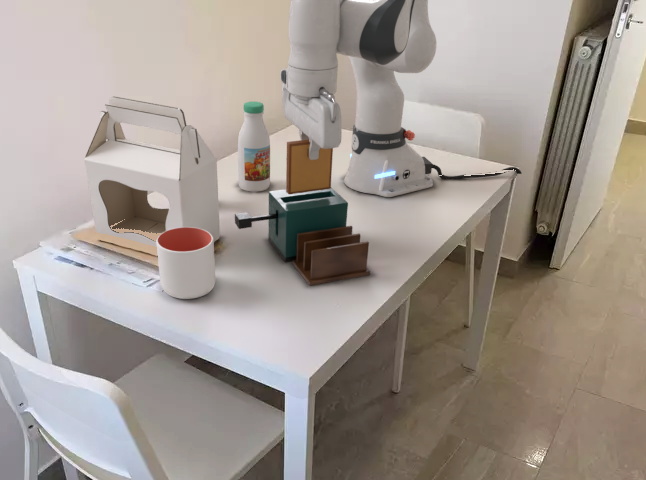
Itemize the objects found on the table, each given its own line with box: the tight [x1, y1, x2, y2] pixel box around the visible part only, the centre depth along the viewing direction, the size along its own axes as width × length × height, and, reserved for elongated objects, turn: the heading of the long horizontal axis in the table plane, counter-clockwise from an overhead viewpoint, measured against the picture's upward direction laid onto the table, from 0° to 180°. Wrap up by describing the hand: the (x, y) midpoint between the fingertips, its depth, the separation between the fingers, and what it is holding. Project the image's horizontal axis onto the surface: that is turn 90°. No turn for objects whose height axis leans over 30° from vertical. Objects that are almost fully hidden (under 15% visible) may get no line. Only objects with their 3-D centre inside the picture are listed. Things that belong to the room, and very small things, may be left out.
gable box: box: [83, 96, 221, 247], centre depth 130 cm, size 22×13×28 cm, turn 65°
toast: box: [285, 139, 334, 194], centre depth 128 cm, size 9×1×10 cm, turn 112°
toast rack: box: [291, 225, 371, 286], centre depth 128 cm, size 13×9×7 cm
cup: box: [156, 227, 216, 300], centre depth 120 cm, size 10×10×10 cm
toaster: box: [267, 187, 349, 263], centre depth 135 cm, size 13×11×11 cm
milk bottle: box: [237, 101, 271, 192], centre depth 157 cm, size 8×8×20 cm
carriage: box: [234, 211, 278, 230], centre depth 132 cm, size 20×3×2 cm, turn 112°
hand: (309, 155), depth 127 cm, fingers closed on toast, 1 cm apart
